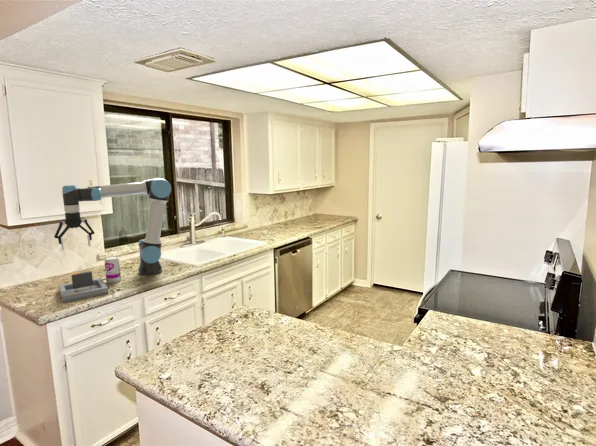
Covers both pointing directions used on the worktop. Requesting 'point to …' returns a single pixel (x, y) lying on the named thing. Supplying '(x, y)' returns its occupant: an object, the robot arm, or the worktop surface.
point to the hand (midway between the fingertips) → (76, 247)
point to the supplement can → (112, 269)
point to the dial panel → (71, 295)
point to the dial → (82, 281)
